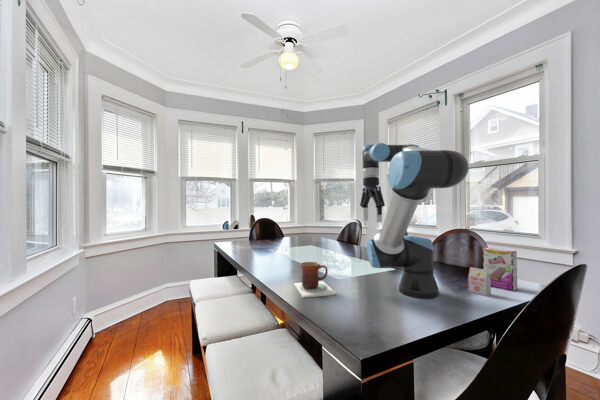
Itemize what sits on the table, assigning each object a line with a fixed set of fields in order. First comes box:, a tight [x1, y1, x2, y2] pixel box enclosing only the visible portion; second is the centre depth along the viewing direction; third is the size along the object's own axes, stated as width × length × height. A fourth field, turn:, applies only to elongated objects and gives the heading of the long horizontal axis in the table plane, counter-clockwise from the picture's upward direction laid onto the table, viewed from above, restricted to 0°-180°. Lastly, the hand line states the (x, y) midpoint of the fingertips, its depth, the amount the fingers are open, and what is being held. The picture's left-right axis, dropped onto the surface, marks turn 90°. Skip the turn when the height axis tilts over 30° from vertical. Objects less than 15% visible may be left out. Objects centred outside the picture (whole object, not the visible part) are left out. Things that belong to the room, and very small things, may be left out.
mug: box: [299, 261, 329, 289], centre depth 116 cm, size 12×9×10 cm
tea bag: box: [467, 266, 492, 297], centre depth 108 cm, size 4×7×10 cm, turn 28°
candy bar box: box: [482, 247, 518, 292], centre depth 116 cm, size 11×5×16 cm, turn 34°
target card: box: [293, 280, 337, 299], centre depth 116 cm, size 18×14×1 cm
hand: (371, 221), depth 128 cm, fingers open, 13 cm apart
